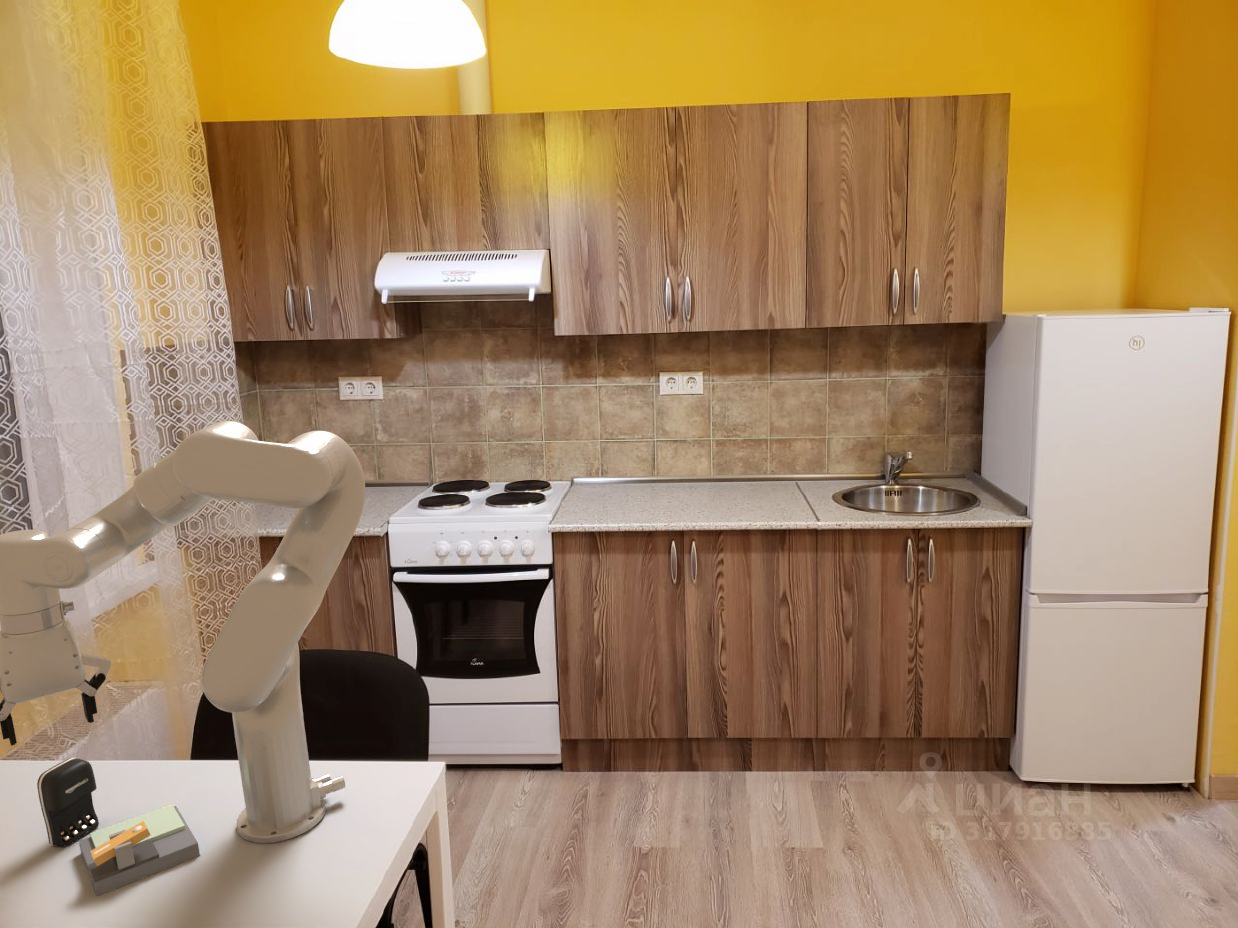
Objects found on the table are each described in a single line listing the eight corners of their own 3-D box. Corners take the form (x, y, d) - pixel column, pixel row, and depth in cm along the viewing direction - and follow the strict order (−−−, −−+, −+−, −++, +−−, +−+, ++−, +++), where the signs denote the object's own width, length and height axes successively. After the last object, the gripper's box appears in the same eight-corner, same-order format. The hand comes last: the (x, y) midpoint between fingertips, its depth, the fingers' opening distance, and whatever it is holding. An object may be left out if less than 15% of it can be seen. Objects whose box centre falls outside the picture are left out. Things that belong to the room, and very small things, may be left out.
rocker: (146, 827, 130) (143, 820, 130) (150, 835, 128) (147, 827, 128) (93, 857, 126) (90, 850, 126) (97, 866, 124) (93, 858, 124)
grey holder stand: (177, 817, 141) (172, 784, 140) (199, 855, 132) (194, 819, 131) (81, 853, 134) (74, 818, 133) (97, 895, 124) (89, 858, 123)
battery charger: (65, 852, 134) (51, 780, 132) (47, 847, 136) (32, 775, 133) (107, 825, 140) (95, 755, 138) (90, 820, 142) (77, 752, 140)
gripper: (96, 596, 139) (113, 702, 142) (-45, 627, 129) (-22, 740, 132) (105, 609, 133) (123, 720, 137) (-41, 642, 123) (-18, 761, 126)
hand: (52, 730), depth 134 cm, fingers open, 9 cm apart
